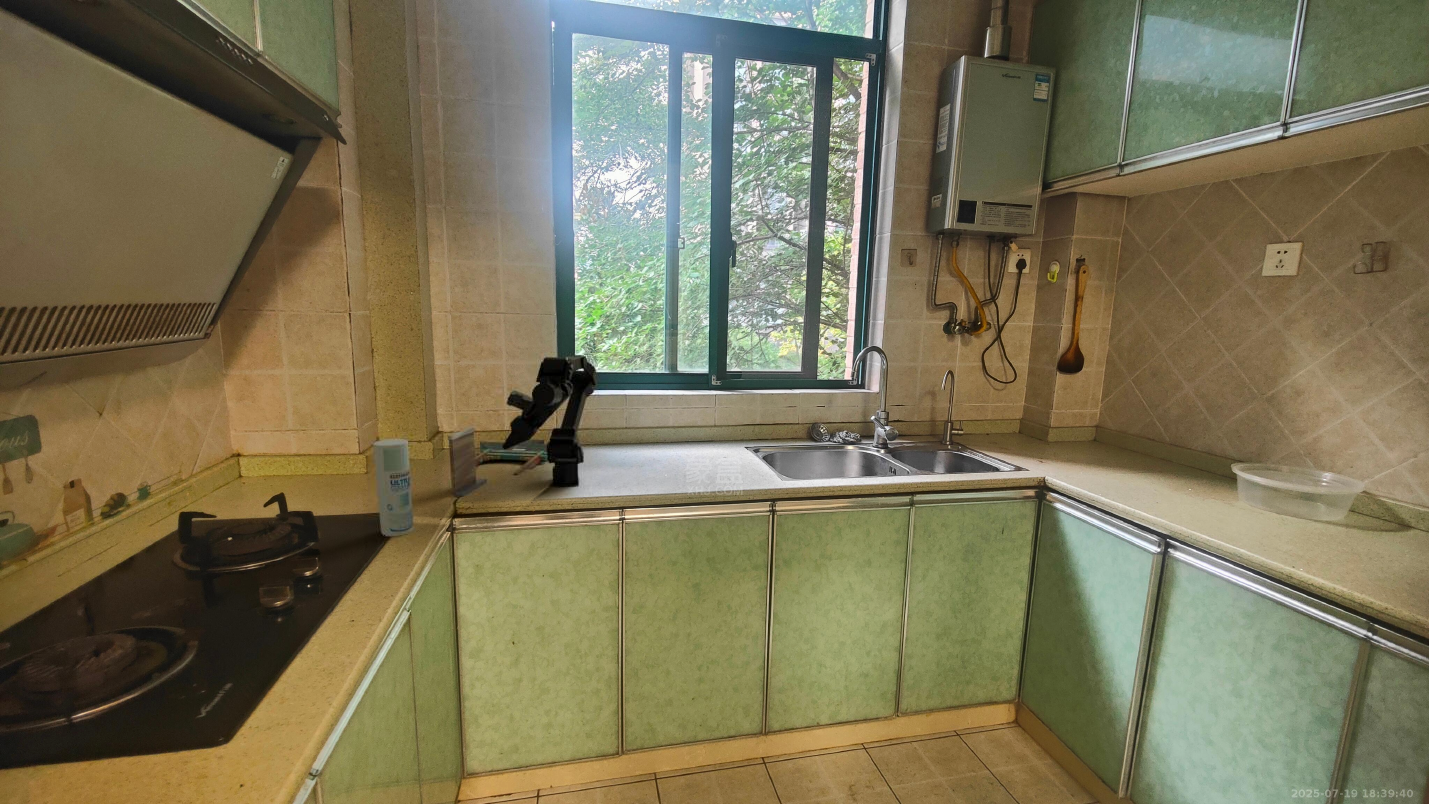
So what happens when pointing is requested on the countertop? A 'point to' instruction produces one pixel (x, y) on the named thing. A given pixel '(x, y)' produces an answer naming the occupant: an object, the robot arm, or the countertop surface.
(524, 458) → the miniature gate
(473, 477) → the fence panel
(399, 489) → the spray can
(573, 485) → the robot arm
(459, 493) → the base
